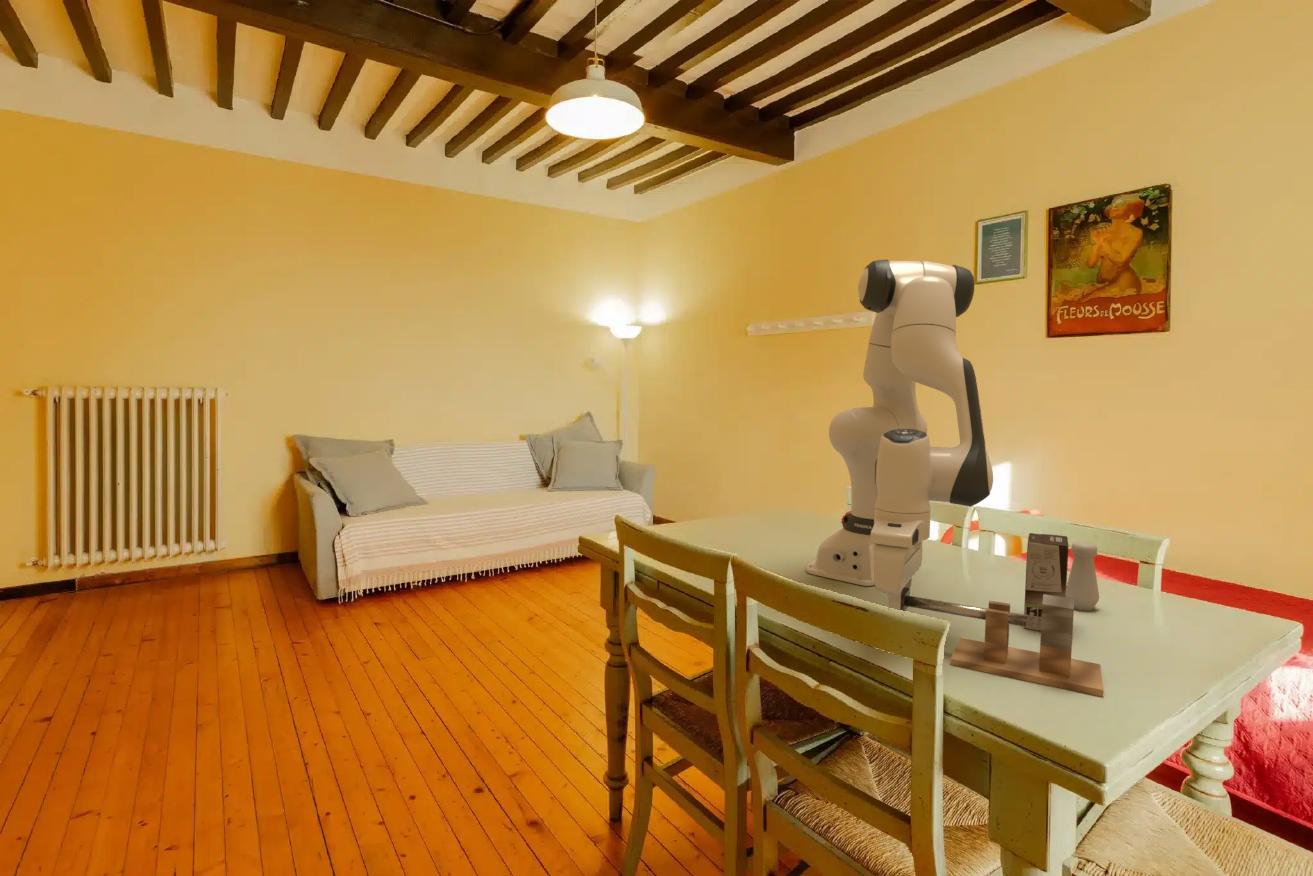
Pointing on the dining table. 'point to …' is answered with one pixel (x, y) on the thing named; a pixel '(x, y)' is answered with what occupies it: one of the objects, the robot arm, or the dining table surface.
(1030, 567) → the coffee box
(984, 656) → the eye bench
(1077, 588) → the salt shaker
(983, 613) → the grey block-headed metal pin
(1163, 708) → the dining table surface
